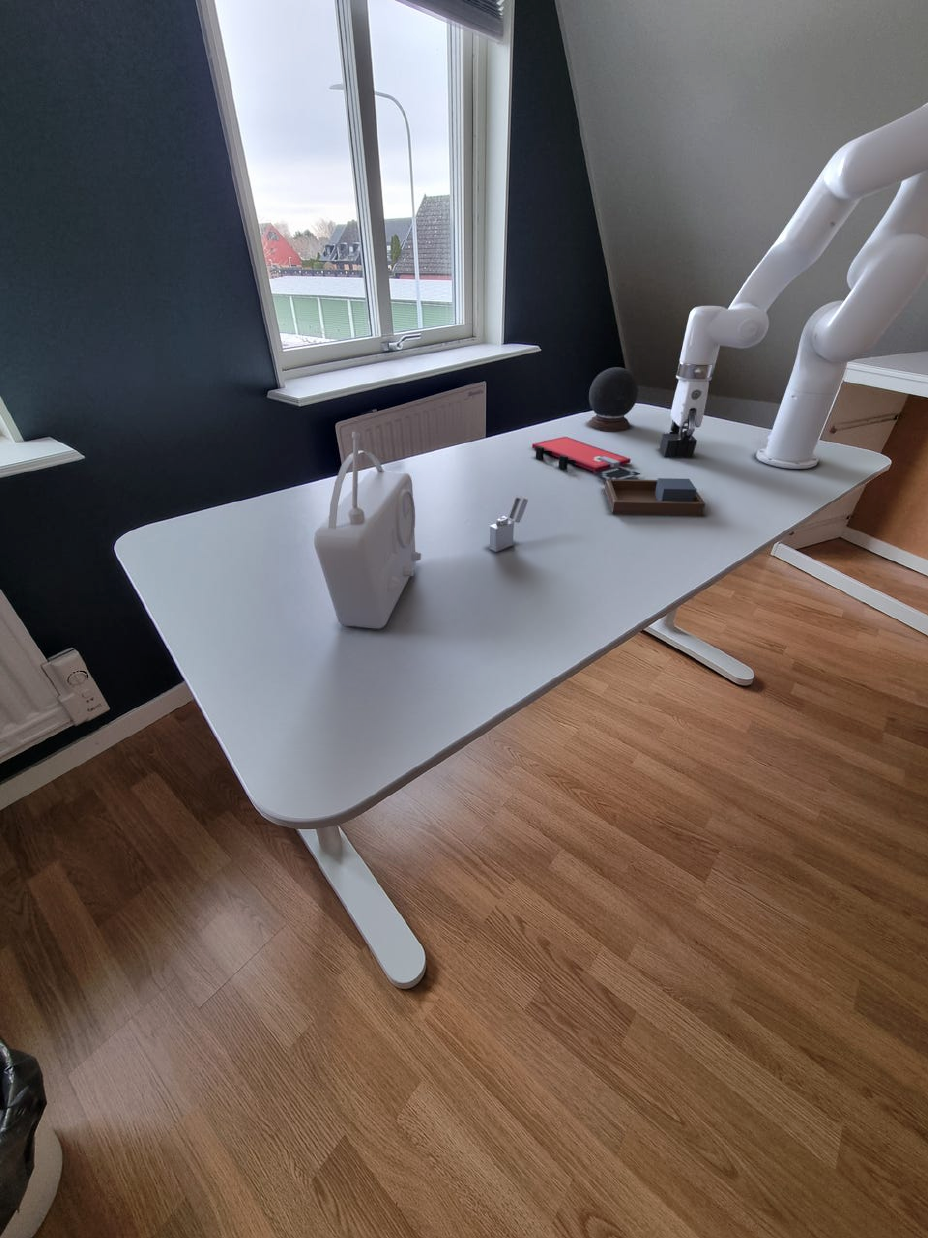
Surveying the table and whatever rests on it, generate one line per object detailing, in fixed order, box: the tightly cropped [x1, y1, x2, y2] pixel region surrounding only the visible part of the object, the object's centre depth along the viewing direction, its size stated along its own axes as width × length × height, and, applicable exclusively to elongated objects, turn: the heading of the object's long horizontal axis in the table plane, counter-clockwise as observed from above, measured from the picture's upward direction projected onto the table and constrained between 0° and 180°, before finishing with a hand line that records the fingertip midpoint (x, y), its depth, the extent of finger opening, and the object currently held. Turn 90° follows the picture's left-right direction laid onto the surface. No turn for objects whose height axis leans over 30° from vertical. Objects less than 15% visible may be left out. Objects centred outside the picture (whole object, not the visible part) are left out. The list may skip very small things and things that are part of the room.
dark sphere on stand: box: [588, 366, 639, 432], centre depth 138 cm, size 13×13×15 cm
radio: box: [313, 431, 422, 630], centre depth 67 cm, size 22×8×25 cm, turn 170°
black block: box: [659, 433, 698, 458], centre depth 121 cm, size 6×7×4 cm
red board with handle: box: [531, 436, 642, 480], centre depth 117 cm, size 30×3×15 cm
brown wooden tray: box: [604, 478, 706, 517], centre depth 98 cm, size 12×17×2 cm
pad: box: [654, 477, 698, 502], centre depth 97 cm, size 6×6×4 cm
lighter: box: [489, 495, 529, 553], centre depth 84 cm, size 7×2×8 cm, turn 129°
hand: (676, 451), depth 121 cm, fingers closed on black block, 5 cm apart
